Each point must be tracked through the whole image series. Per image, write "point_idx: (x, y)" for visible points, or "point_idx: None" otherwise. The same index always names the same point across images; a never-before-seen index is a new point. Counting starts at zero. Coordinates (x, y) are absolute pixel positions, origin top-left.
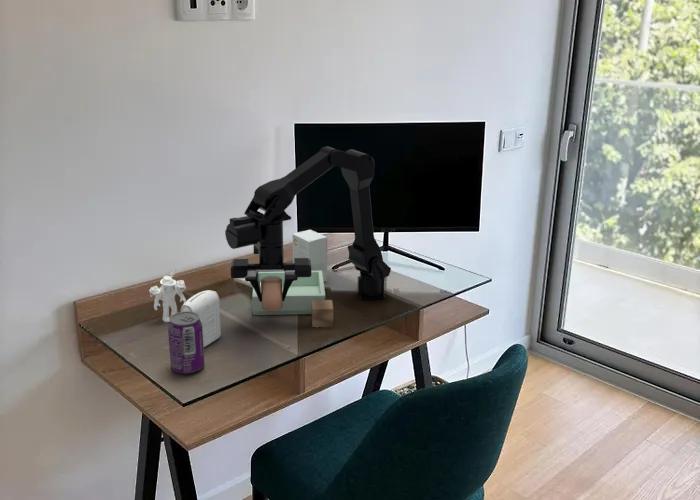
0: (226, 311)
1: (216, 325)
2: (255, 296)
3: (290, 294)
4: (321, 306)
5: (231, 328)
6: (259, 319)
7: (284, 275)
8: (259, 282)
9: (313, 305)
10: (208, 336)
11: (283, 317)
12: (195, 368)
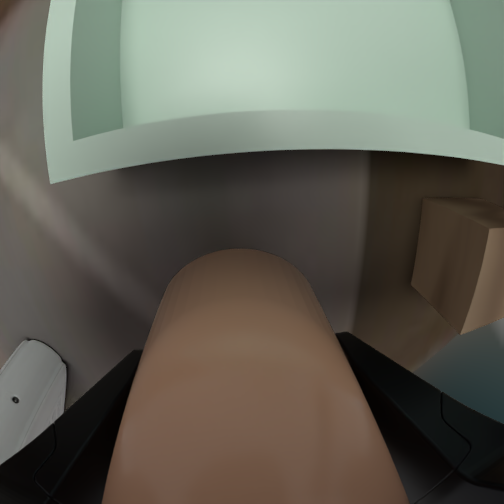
0: (6, 147)
1: (49, 415)
2: (70, 176)
3: (391, 116)
4: (497, 298)
5: (68, 306)
6: (157, 213)
7: (486, 498)
8: (83, 494)
9: (478, 294)
10: (57, 418)
11: (292, 182)
12: None
